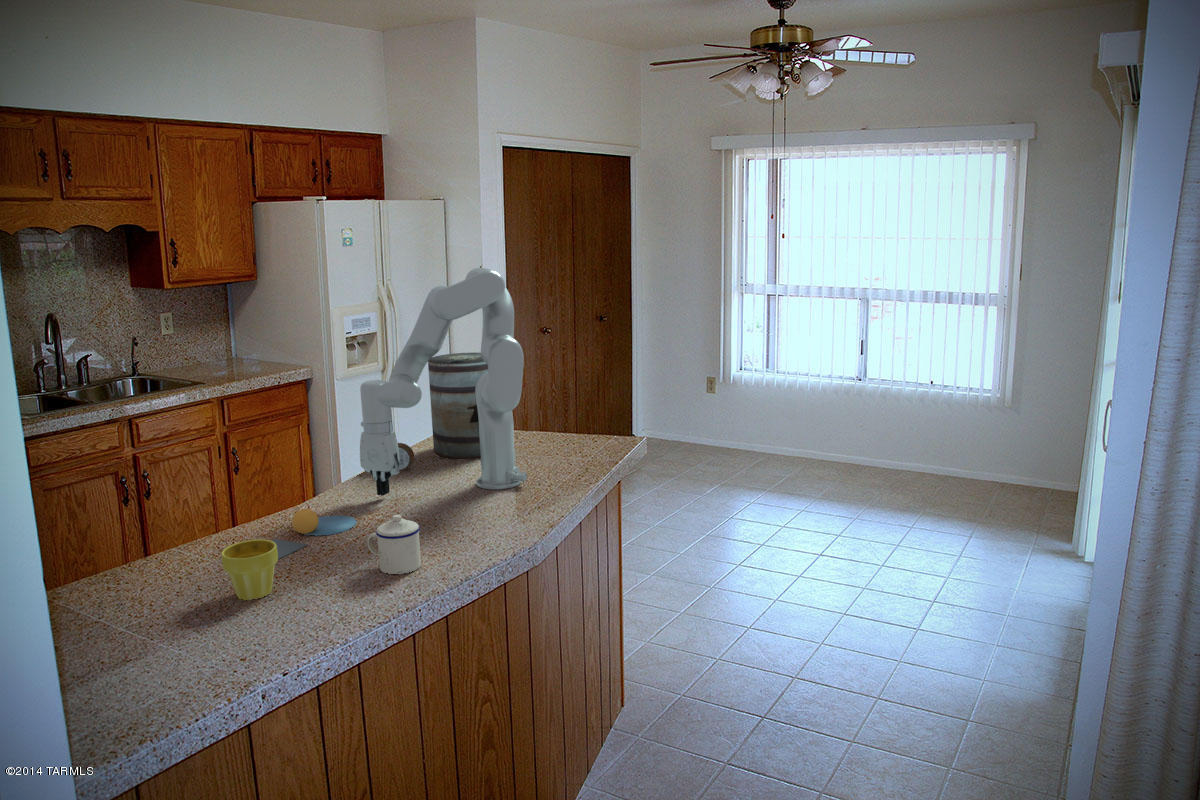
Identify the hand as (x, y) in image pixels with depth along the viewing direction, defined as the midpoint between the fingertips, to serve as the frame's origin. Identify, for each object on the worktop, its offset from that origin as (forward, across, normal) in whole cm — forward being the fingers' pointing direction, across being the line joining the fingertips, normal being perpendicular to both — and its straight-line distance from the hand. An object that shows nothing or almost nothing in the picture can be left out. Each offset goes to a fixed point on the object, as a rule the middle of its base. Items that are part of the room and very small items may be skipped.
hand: (383, 493), depth 236 cm
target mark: (+2, 0, -22) cm, 22 cm away
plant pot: (+2, +14, -59) cm, 61 cm away
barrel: (+2, -6, +51) cm, 51 cm away
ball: (-2, -1, -28) cm, 28 cm away
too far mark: (+1, 0, -39) cm, 39 cm away
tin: (+2, -16, +23) cm, 28 cm away
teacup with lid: (+2, +32, -37) cm, 49 cm away
